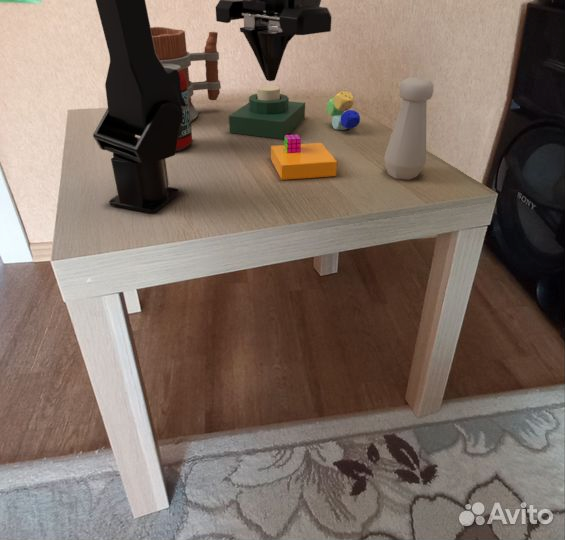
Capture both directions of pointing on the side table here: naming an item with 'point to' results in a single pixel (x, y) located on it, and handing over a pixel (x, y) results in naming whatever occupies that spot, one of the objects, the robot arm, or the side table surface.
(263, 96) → the beige round button
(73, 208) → the side table surface
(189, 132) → the beverage can
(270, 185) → the side table surface
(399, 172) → the salt shaker
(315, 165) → the orange square block
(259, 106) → the green base with socket
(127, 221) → the side table surface
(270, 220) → the side table surface
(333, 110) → the dice
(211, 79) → the mug
